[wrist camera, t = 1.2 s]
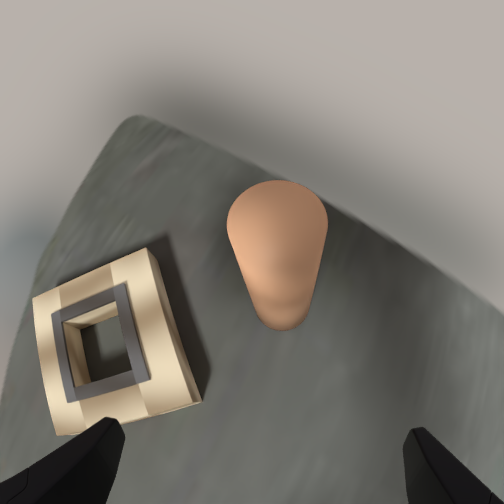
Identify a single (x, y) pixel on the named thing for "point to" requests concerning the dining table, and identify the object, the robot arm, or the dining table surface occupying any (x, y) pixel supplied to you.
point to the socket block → (136, 339)
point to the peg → (278, 248)
